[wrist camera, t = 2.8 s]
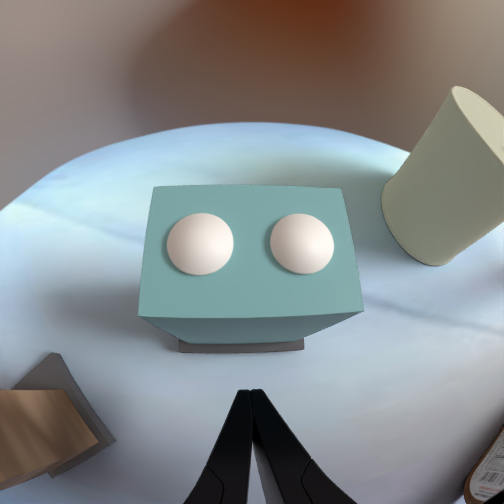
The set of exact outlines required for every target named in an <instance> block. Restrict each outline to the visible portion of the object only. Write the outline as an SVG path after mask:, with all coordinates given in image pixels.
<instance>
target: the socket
mask: <svg viewBox="0 0 504 504" xmlns="http://www.w3.org/2000/svg"><path fill="white" fill-rule="evenodd" d="M60 389H64V391H65V392H66V394H67V396H68V397H69V399H70V401H71V402H72V404H73V405H74V407H75V409H76V410H77V412H78V413H79V415H80V416H81V418H82V419H83V421H84V422H85V424H86V425H87V426H88V428H89V429H90V431H91V432H92V433H93V435H94V436H95V437H96V439H97V440H98V441H99V442H98V443H96V444H95V445H93V446H92V447H90V448H89V449H87V450H85V451H84V452H82V453H80V454H79V455H77V456H76V457H74V458H72V459H71V460H69V461H67V462H65V463H64V464H62V465H60V466H59V467H57V468H55V469H53V470H52V471H50V472H48V474H49V475H50V476H51V478H54V477H56V476H58V475H60V474H62V473H63V472H65V471H67V470H69V469H71V468H72V467H74V466H76V465H78V464H79V463H81V462H83V461H84V460H86V459H88V458H90V457H91V456H93V455H95V454H96V453H98V452H99V451H101V450H103V449H104V448H106V447H107V446H109V445H111V444H112V443H114V442H115V441H116V440H115V438H114V437H113V436H112V435H111V433H110V432H109V431H108V429H107V428H106V427H105V425H104V424H103V423H102V421H101V420H100V418H99V417H98V416H97V414H96V413H95V411H94V410H93V408H92V407H91V406H90V404H89V403H88V401H87V399H86V398H85V396H84V395H83V393H82V392H81V390H80V388H79V387H78V385H77V383H76V382H75V380H74V378H73V377H72V375H71V373H70V372H69V370H68V368H67V366H66V364H65V362H64V361H63V359H62V357H61V355H60V354H57V353H51V354H50V355H49V356H48V357H47V358H45V359H44V360H43V361H42V362H41V363H40V364H39V365H38V366H36V367H35V368H34V369H33V370H32V371H31V372H30V373H29V374H28V375H26V376H25V377H24V378H23V379H22V380H21V381H20V382H19V383H18V384H17V385H16V386H14V387H13V388H12V389H11V390H60Z"/></svg>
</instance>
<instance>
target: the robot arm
mask: <svg viewBox="0 0 504 504" xmlns="http://www.w3.org/2000/svg"><path fill="white" fill-rule="evenodd" d="M252 443H253V449H254V453H255V458H256V462H257V466H258V471H259V475H260V479H261V483H262V488H263V492H264V496H265V500H266V504H357V503H356V502H355V501H354V500H353V499H351V498H350V497H349V496H348V495H347V494H346V493H344V492H343V491H342V490H341V489H340V488H339V487H338V486H337V485H336V484H335V483H333V482H332V481H331V480H330V479H329V478H328V477H327V476H326V474H325V473H324V472H323V471H322V470H321V469H320V467H319V466H318V465H317V464H316V462H315V461H314V460H313V459H311V456H310V455H309V454H308V452H307V451H306V450H305V448H304V447H303V446H302V444H301V443H300V442H299V440H298V439H297V438H296V436H295V435H294V433H293V432H292V431H291V429H290V428H289V427H288V425H287V424H286V422H285V421H284V420H283V418H282V417H281V415H280V414H279V413H278V411H277V410H276V408H275V407H274V405H273V404H272V403H271V401H270V400H269V398H268V397H267V395H266V394H265V392H264V391H263V390H262V389H252V390H251V391H250V390H238V392H237V394H236V396H235V399H234V401H233V404H232V406H231V408H230V411H229V413H228V415H227V418H226V420H225V422H224V425H223V427H222V429H221V432H220V434H219V436H218V439H217V441H216V443H215V445H214V448H213V450H212V452H211V454H210V456H209V459H208V461H207V463H206V466H205V467H204V469H203V471H202V474H201V476H200V477H199V479H198V481H197V483H196V485H195V487H194V488H193V490H192V491H191V493H190V495H189V496H188V498H187V499H186V500H185V502H184V503H183V504H247V501H248V489H249V477H250V465H251V452H252ZM482 504H504V488H503V489H502V490H500V491H499V492H498V493H496V494H495V495H493V496H492V497H490V498H489V499H487V500H486V501H484V502H483V503H482Z"/></svg>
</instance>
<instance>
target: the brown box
mask: <svg viewBox="0 0 504 504" xmlns="http://www.w3.org/2000/svg"><path fill="white" fill-rule="evenodd" d="M98 442H99V441H98V440H97V439H96V437H95V436H94V435H93V433H92V432H91V431H90V429H89V428H88V426H87V425H86V424H85V422H84V421H83V419H82V418H81V416H80V415H79V413H78V412H77V410H76V409H75V407H74V405H73V404H72V402H71V401H70V399H69V397H68V396H67V394H66V392H65V391H64V389H60V390H0V490H3V489H6V488H9V487H12V486H15V485H17V484H20V483H23V482H25V481H28V480H30V479H33V478H35V477H38V476H40V475H43V474H45V473H47V472H50V471H52V470H53V469H55V468H57V467H59V466H60V465H62V464H64V463H65V462H67V461H69V460H71V459H72V458H74V457H76V456H77V455H79V454H80V453H82V452H84V451H85V450H87V449H89V448H90V447H92V446H93V445H95V444H96V443H98Z"/></svg>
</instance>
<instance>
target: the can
mask: <svg viewBox="0 0 504 504" xmlns="http://www.w3.org/2000/svg"><path fill="white" fill-rule="evenodd" d="M381 204H382V211H383V215H384V218H385V221H386V223H387V226H388V228H389V230H390V231H391V233H392V235H393V236H394V238H395V239H396V241H397V242H398V243H399V244H400V246H401V247H402V248H403V249H404V250H405V251H406V252H407V253H408V254H410V255H411V256H412V257H414V258H415V259H417V260H418V261H420V262H422V263H425V264H427V265H432V266H440V265H444V264H447V263H448V262H450V261H451V260H452V259H453V258H454V257H455V256H456V255H458V254H459V253H460V252H462V251H463V250H465V249H466V248H468V247H469V246H470V245H472V244H473V243H475V242H476V241H478V240H479V239H480V238H482V237H483V236H485V235H486V234H487V233H489V232H490V231H492V230H493V229H494V228H496V227H497V226H498V225H500V224H501V223H502V222H504V117H503V116H502V115H501V114H500V113H499V112H498V111H497V110H496V109H494V108H493V107H492V106H491V105H490V104H489V103H488V102H486V101H485V100H484V99H482V98H481V97H480V96H478V95H477V94H475V93H473V92H472V91H470V90H468V89H466V88H463V87H459V86H454V87H452V88H451V89H450V92H449V94H448V96H447V98H446V100H445V101H444V103H443V105H442V106H441V108H440V110H439V111H438V113H437V115H436V116H435V118H434V120H433V121H432V123H431V124H430V126H429V127H428V129H427V130H426V132H425V133H424V135H423V136H422V138H421V139H420V141H419V142H418V144H417V145H416V146H415V148H414V149H413V151H412V152H411V153H410V155H409V156H408V158H407V159H406V160H405V162H404V163H403V165H402V166H401V167H400V169H399V170H398V171H397V173H396V174H395V175H394V176H393V177H392V178H391V179H390V180H389V181H388V182H387V183H386V185H385V186H384V189H383V192H382V198H381Z"/></svg>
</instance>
